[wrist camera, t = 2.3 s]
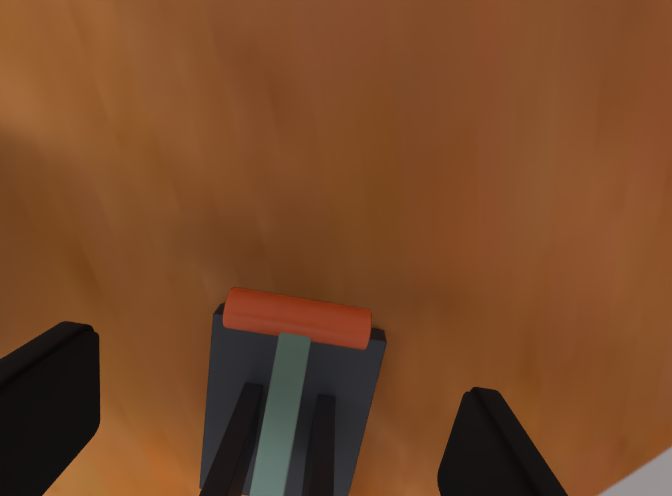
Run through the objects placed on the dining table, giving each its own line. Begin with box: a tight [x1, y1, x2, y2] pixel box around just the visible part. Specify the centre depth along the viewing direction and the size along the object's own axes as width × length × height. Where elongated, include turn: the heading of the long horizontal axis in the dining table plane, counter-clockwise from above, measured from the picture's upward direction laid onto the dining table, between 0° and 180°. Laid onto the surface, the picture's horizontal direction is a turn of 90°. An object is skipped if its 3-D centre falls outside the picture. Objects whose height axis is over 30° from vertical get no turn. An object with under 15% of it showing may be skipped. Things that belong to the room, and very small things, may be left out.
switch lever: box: [223, 287, 372, 496], centre depth 11 cm, size 12×5×2 cm, turn 171°
